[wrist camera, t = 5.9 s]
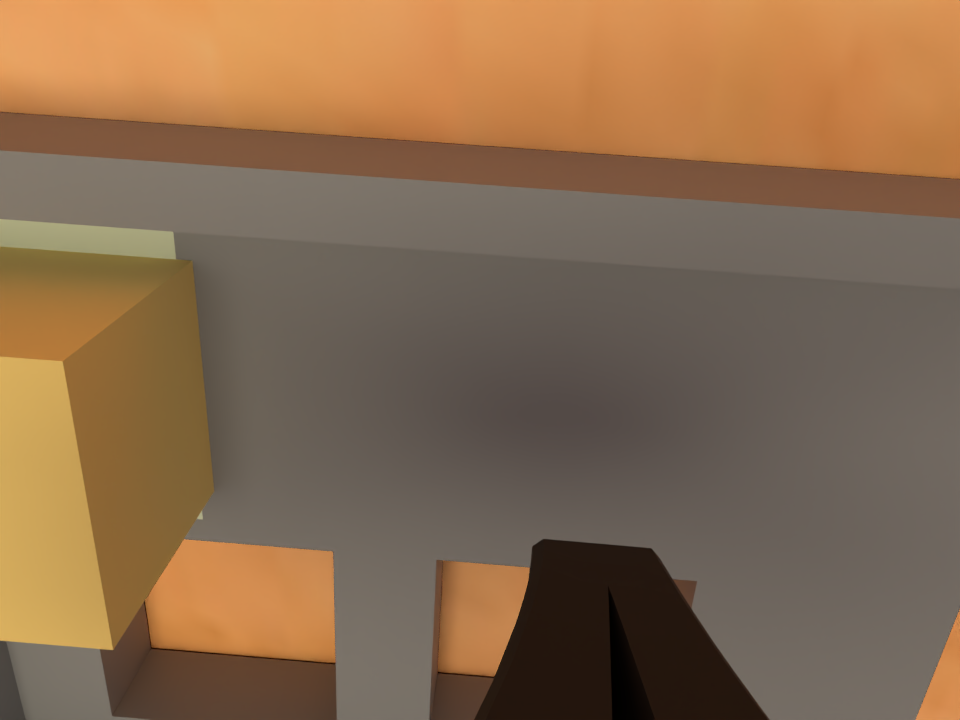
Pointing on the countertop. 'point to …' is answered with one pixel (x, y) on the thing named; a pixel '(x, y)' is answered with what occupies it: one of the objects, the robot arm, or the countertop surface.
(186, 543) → the countertop surface
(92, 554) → the block
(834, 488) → the trap tray
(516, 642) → the robot arm
